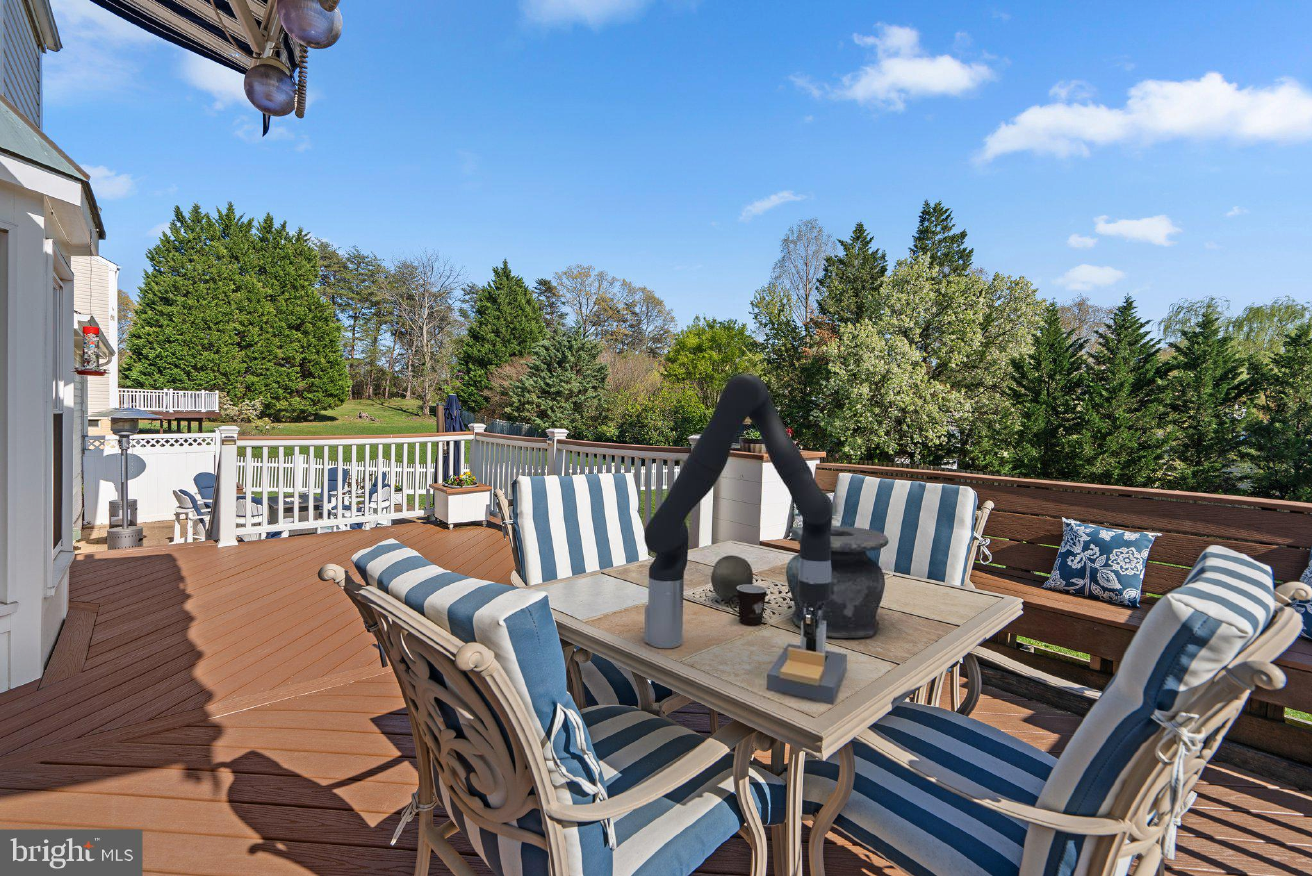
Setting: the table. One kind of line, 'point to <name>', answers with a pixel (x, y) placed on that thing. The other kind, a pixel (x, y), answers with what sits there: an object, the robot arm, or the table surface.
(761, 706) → the table surface
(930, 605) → the table surface
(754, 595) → the coffee mug
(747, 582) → the grey stone ball
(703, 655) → the table surface
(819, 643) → the plug
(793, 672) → the tan l-shaped block
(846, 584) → the clay pot
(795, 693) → the socket plate
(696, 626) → the table surface
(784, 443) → the robot arm
